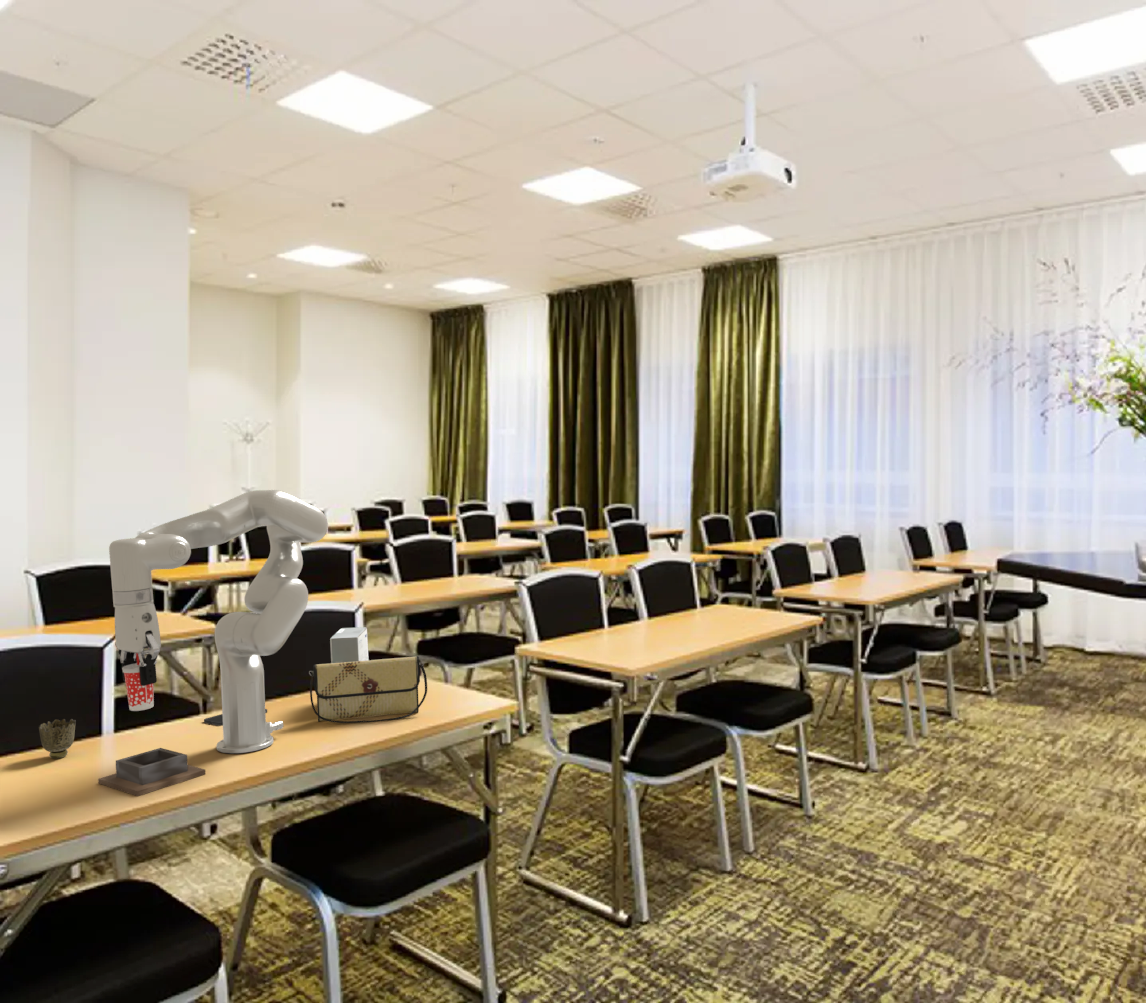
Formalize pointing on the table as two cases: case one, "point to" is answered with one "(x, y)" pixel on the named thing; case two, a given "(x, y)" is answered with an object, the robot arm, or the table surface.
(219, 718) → the phone
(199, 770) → the socket board
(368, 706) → the clutch purse
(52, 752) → the cup
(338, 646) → the hard drive box
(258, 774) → the table surface
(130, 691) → the beverage cup
